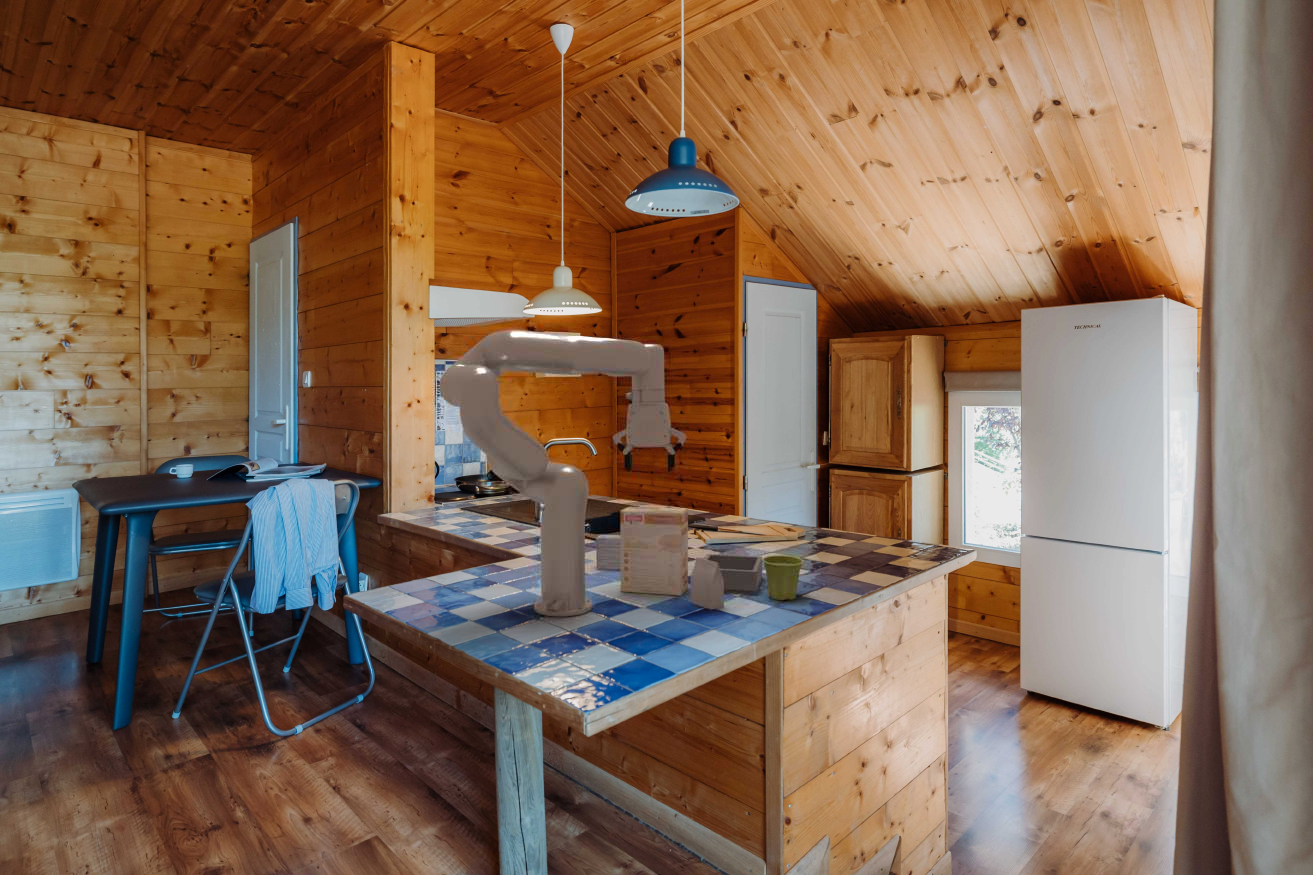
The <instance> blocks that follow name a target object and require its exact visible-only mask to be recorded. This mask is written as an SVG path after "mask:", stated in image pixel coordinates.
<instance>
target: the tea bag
mask: <svg viewBox="0 0 1313 875" xmlns="http://www.w3.org/2000/svg"><path fill="white" fill-rule="evenodd" d="M724 594H725V593H724V579H723V577H722V574H721V571H720V567H719V563H717V562H713V561H709V560H705V559H704V558H701V557H695V562H694V566H693V568H692V572H691V575H690V604H693V605H696V606H699V607H701V608H706V609H709V610H717V609H719V608H723V607H724V606H725V605H724V601H725V600H724V599H725V598H724V596H725V595H724Z"/></svg>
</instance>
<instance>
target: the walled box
mask: <svg viewBox="0 0 1313 875" xmlns="http://www.w3.org/2000/svg"><path fill="white" fill-rule="evenodd" d="M703 559H705V560H709V561H713V562H717V563H719V567H720V571H721V574H722V577H723V579H724V594H730V595H731V594H732V595H734V594H736V595H746V596H747V595H748V596H751V595H752V596H757V593H758V591H759V588H760V585H761V582H762V580H763V561H762V559H763V556H759V555H758V556H757V555H755V556H754V555H736V554H733V555H732V554H717V553H716V554H714V553H706V555H705V557H704V558H703Z"/></svg>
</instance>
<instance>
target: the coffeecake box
mask: <svg viewBox="0 0 1313 875" xmlns="http://www.w3.org/2000/svg"><path fill="white" fill-rule="evenodd" d="M688 509H689V508H676V507H675V508H673V507H672V508H671V507H649V506H648V507H646V506H645V507H644V506H643V507H642V506H628V507H625V508H623V509H621V510H620V513H619V514H620V515H619V516H620V535H621V570H620V591H621V593H622V592H623V593H638V594H639V593H640V594H650V595H651V594H653V595H654V594H655V595H667V596H680V597H682V596H683V594H684V593H685V592H686V591H688V589H689V540H688V539H689V536H688V535H689V521H688V520H689V519H688V518H689V514H688V513H689V512H688V511H689V510H688Z"/></svg>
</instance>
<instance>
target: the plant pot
mask: <svg viewBox="0 0 1313 875" xmlns="http://www.w3.org/2000/svg"><path fill="white" fill-rule="evenodd" d="M804 562H805V561H804V560H803V558H800V557H797V556H792V555H781V554H780V555H779V554H778V555H775V554H774V555H767V556H764V557H762V563H763V565H764V568H765V573H766V580H767V581H766V582H767V593H768V597H770V598H771V599H773V600H779V601H785V600H788V601H789V600H791V601H792V600H794V599H796V597H797V589H798V584H799V578H800V573H801V569H802V566H803V564H804Z"/></svg>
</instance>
